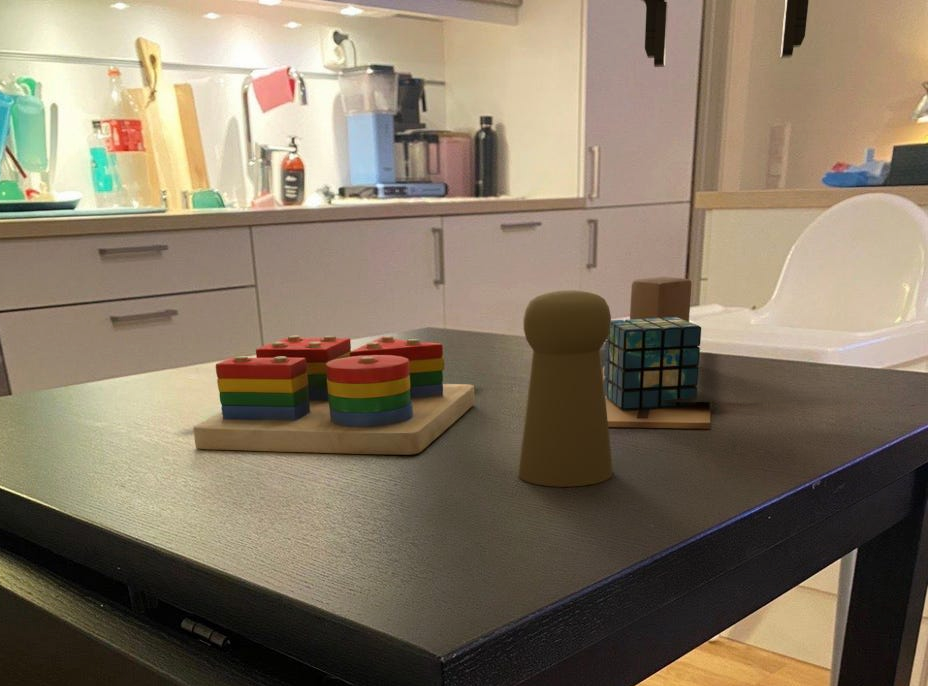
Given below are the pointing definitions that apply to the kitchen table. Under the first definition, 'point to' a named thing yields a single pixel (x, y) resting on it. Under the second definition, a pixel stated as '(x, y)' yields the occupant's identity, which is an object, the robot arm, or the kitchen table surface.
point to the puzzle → (651, 362)
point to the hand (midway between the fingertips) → (721, 61)
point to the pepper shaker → (566, 391)
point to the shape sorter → (334, 398)
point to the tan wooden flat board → (659, 416)
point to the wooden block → (660, 298)
